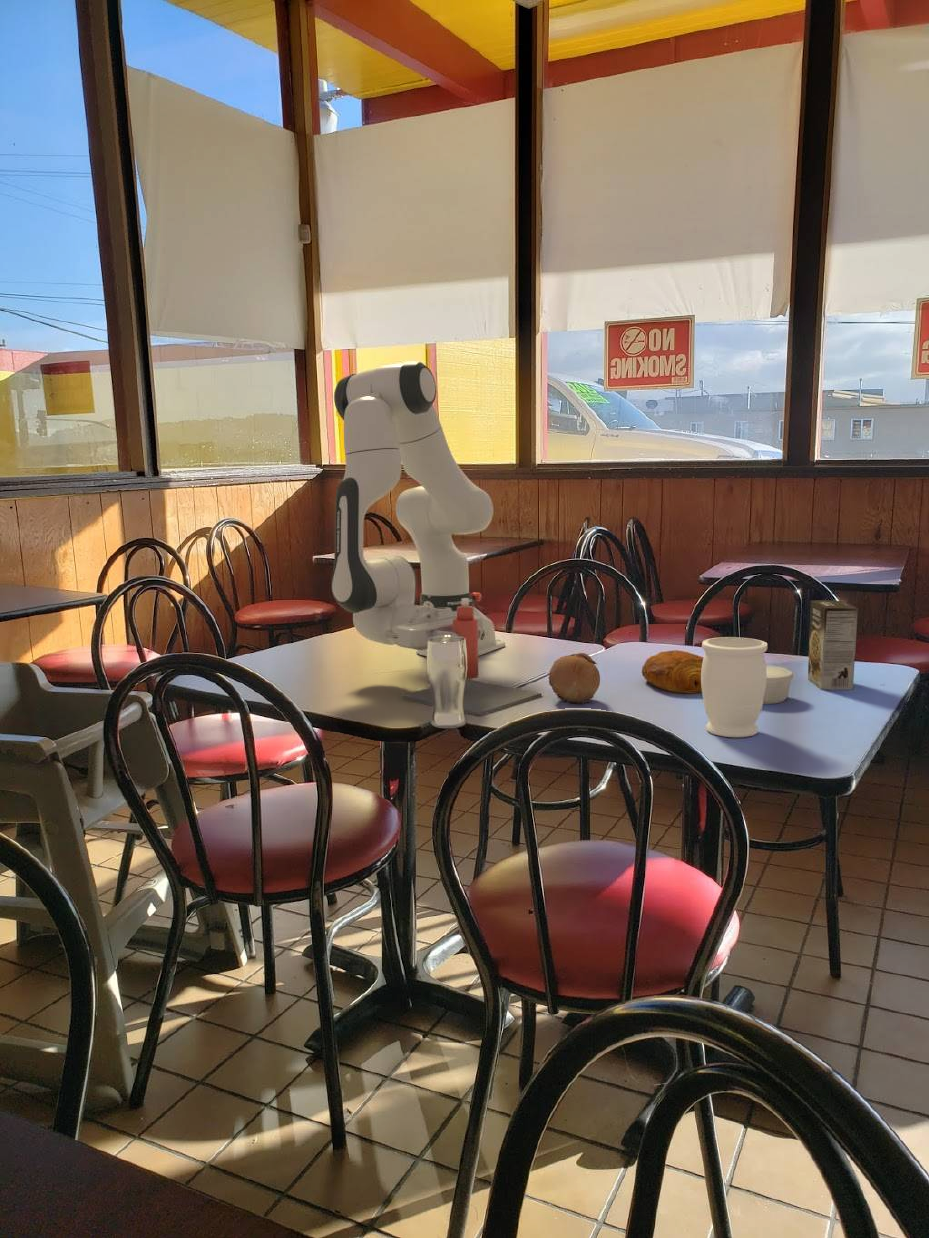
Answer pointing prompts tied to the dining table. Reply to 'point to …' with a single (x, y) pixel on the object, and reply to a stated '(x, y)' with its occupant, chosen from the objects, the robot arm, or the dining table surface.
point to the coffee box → (832, 644)
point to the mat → (481, 697)
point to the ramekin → (777, 684)
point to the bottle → (468, 635)
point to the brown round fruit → (574, 678)
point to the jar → (733, 684)
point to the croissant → (674, 671)
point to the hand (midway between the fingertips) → (468, 635)
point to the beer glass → (447, 679)
